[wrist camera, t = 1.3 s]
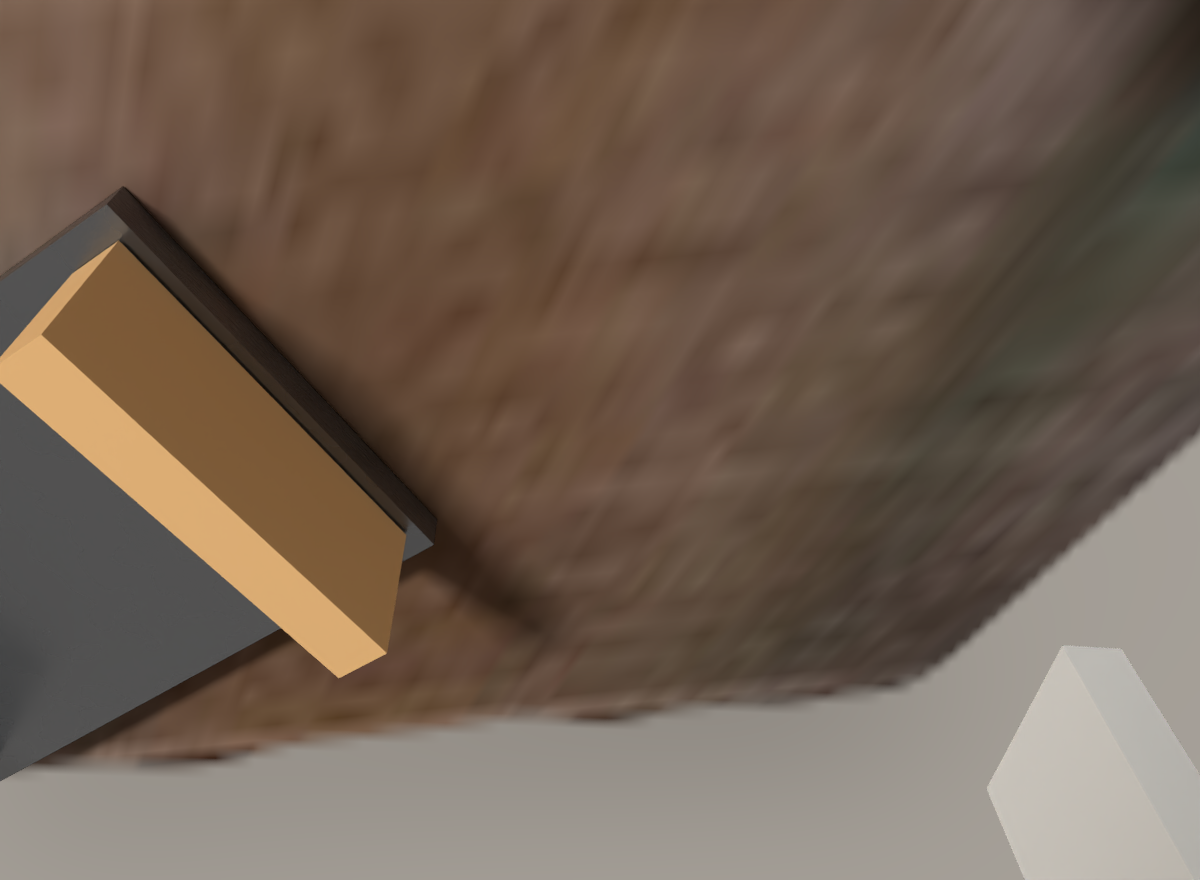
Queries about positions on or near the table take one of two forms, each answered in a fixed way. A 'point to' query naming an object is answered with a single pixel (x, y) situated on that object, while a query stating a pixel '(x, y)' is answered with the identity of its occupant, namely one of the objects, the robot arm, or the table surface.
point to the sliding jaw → (210, 456)
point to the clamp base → (127, 520)
